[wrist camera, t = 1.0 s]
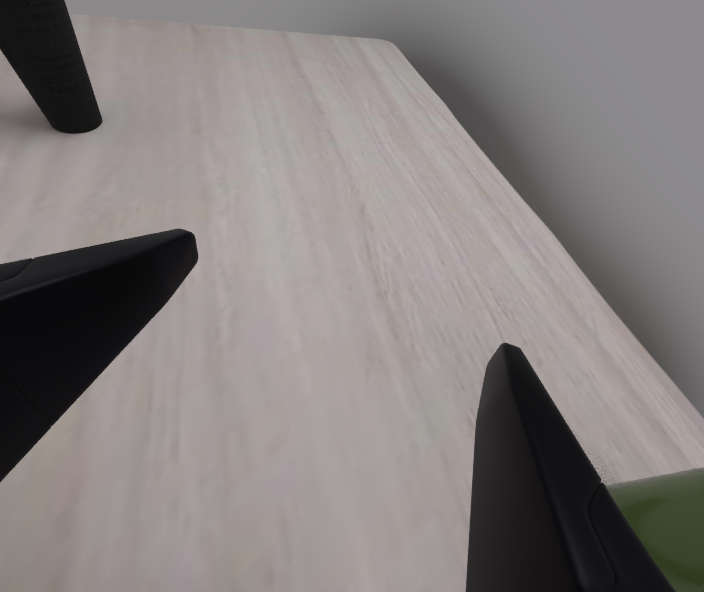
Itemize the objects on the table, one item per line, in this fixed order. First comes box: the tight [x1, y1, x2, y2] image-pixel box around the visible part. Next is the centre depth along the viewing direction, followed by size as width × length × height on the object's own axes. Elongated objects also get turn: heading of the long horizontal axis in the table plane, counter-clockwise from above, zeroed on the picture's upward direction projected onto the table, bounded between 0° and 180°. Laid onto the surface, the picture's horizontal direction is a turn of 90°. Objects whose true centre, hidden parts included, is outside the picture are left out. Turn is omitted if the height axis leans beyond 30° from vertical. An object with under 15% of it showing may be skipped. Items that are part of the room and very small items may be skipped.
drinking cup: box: [0, 0, 102, 133], centre depth 30 cm, size 8×8×20 cm
